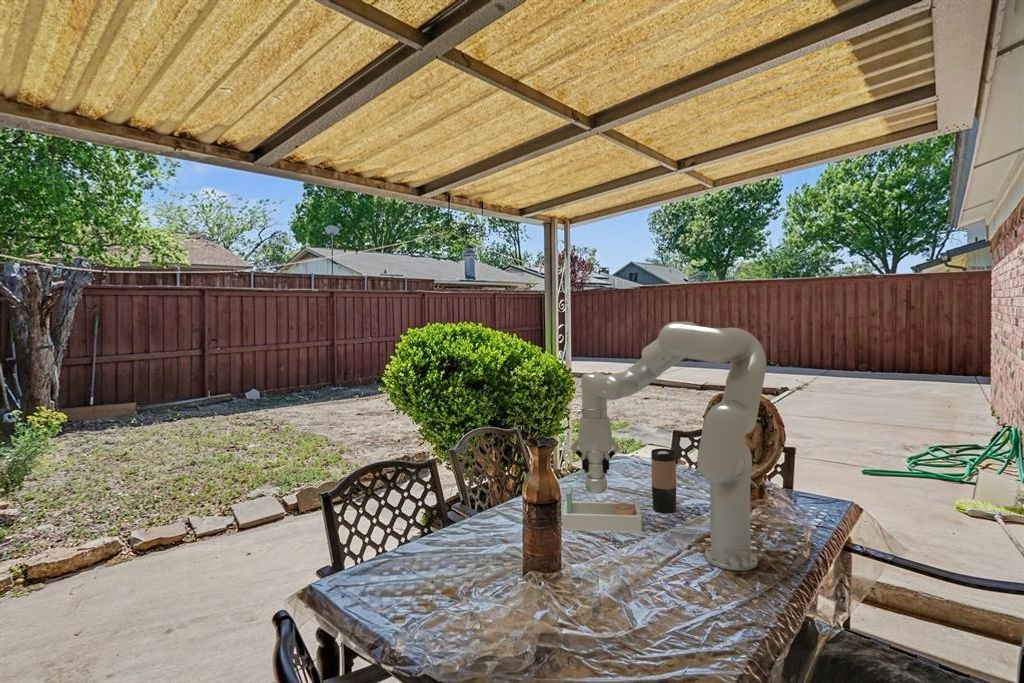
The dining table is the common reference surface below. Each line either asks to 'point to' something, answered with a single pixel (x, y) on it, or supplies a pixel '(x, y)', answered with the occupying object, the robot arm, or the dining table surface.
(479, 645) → the dining table surface
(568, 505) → the pusher
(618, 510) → the terracotta jar
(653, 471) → the travel mug
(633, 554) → the dining table surface
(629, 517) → the white open tray
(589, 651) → the dining table surface
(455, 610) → the dining table surface
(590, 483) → the plastic bottle
